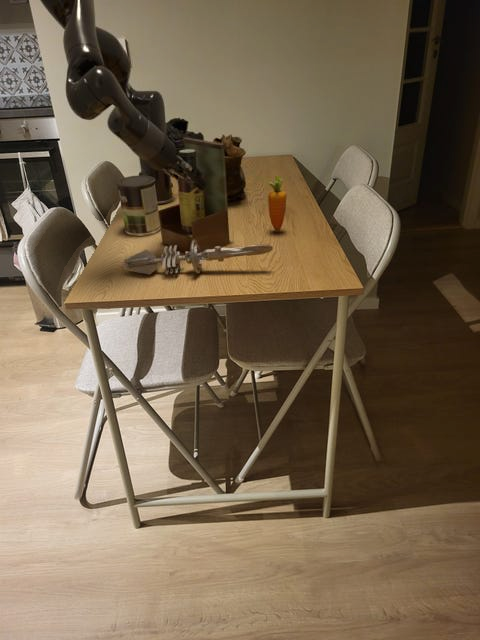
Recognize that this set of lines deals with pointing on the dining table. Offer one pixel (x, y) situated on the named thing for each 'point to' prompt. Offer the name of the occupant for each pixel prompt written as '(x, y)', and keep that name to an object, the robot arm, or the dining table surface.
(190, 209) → the sauce bottle
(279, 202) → the carrot
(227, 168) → the pottery vessel
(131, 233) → the coffee can
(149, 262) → the spaceship
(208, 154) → the bottle rack
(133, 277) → the dining table surface
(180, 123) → the coal bowl
